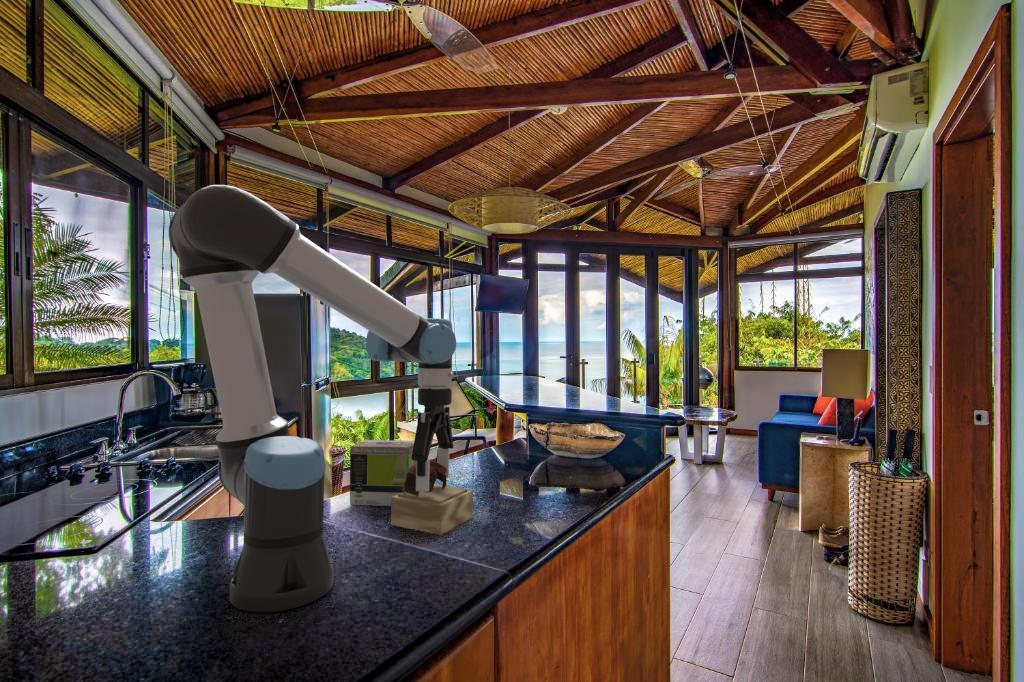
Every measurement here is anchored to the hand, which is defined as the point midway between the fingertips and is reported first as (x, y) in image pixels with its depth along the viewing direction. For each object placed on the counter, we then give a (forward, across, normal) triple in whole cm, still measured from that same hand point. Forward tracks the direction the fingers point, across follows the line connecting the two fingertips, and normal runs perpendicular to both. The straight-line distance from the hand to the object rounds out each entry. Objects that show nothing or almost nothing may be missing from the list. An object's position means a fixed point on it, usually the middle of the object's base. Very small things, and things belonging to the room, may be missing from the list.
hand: (433, 483), depth 117 cm
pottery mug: (+2, -1, +2) cm, 3 cm away
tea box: (+9, +11, +17) cm, 22 cm away
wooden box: (+9, 0, 0) cm, 9 cm away
